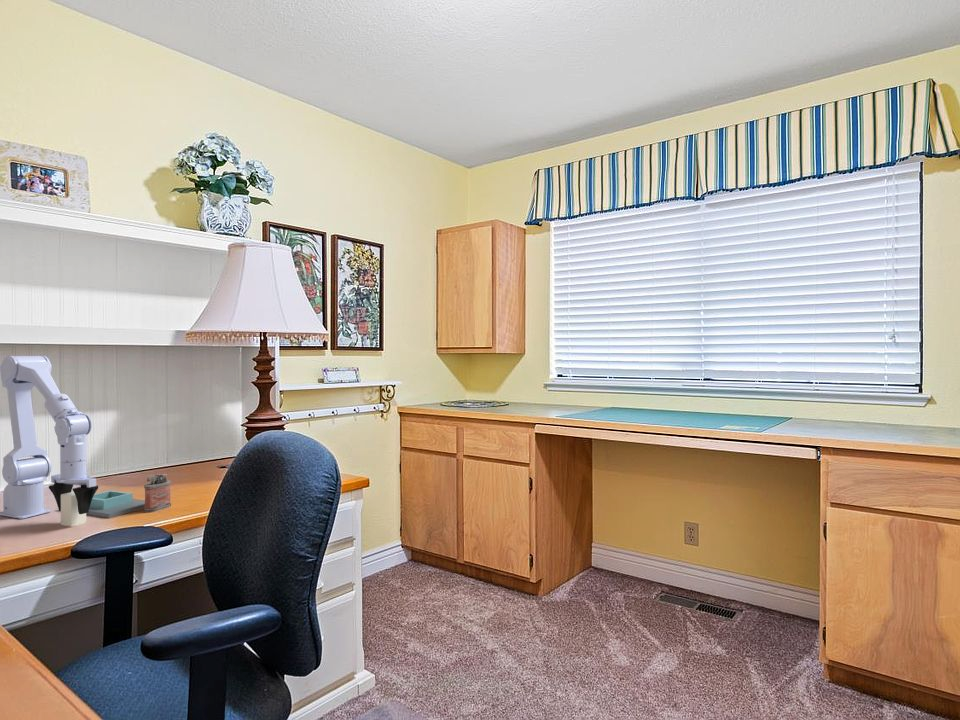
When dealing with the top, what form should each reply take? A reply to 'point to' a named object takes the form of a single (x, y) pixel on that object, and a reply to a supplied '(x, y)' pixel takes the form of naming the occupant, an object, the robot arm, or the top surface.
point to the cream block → (70, 511)
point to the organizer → (114, 504)
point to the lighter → (157, 493)
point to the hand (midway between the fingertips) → (73, 511)
